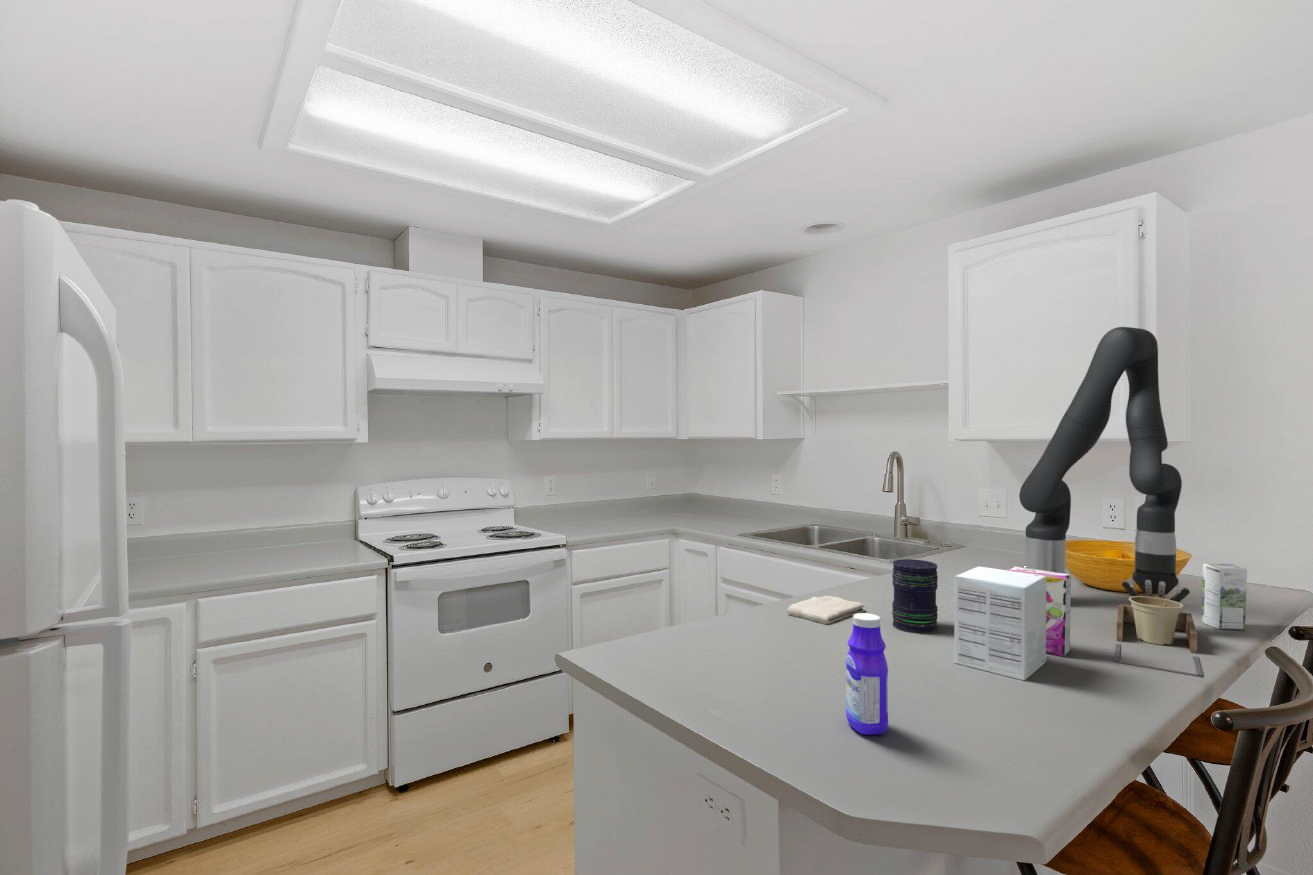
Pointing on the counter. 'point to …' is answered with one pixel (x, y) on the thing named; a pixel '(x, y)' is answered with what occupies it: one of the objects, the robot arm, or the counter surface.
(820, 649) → the counter surface
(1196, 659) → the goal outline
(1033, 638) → the supplement box
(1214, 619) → the syrup box
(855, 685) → the bottle
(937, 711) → the counter surface
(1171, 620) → the flower pot
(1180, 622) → the brown wooden frame
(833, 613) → the washcloth
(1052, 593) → the candy bar box
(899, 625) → the storage jar
